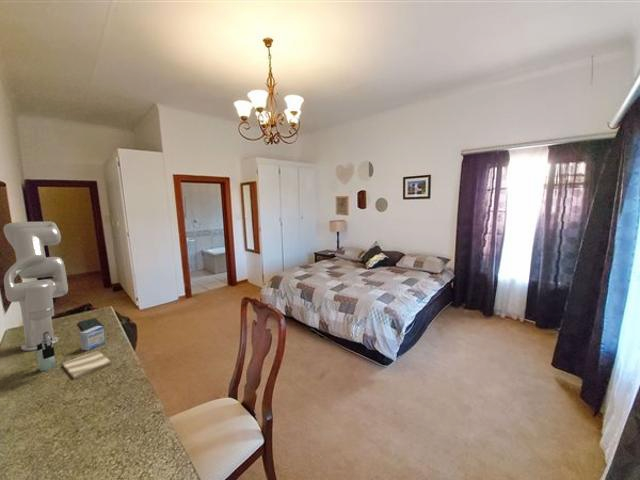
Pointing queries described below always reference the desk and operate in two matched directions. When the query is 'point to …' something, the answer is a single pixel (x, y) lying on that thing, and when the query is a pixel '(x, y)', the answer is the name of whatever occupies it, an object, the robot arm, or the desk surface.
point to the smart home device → (89, 324)
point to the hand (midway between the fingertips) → (46, 354)
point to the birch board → (86, 364)
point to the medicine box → (92, 338)
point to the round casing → (45, 362)
